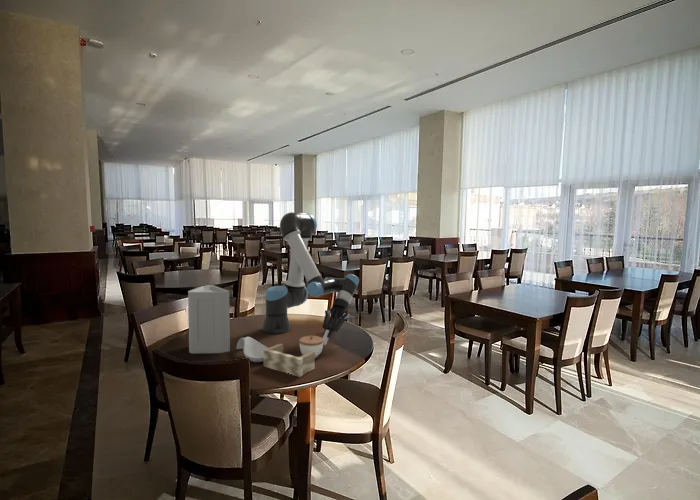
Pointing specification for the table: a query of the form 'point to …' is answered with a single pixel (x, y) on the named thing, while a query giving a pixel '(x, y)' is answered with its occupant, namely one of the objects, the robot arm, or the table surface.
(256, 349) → the spoon rest
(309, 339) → the lidded jar
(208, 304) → the grey triangular prism
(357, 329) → the table surface
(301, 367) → the open wooden box
